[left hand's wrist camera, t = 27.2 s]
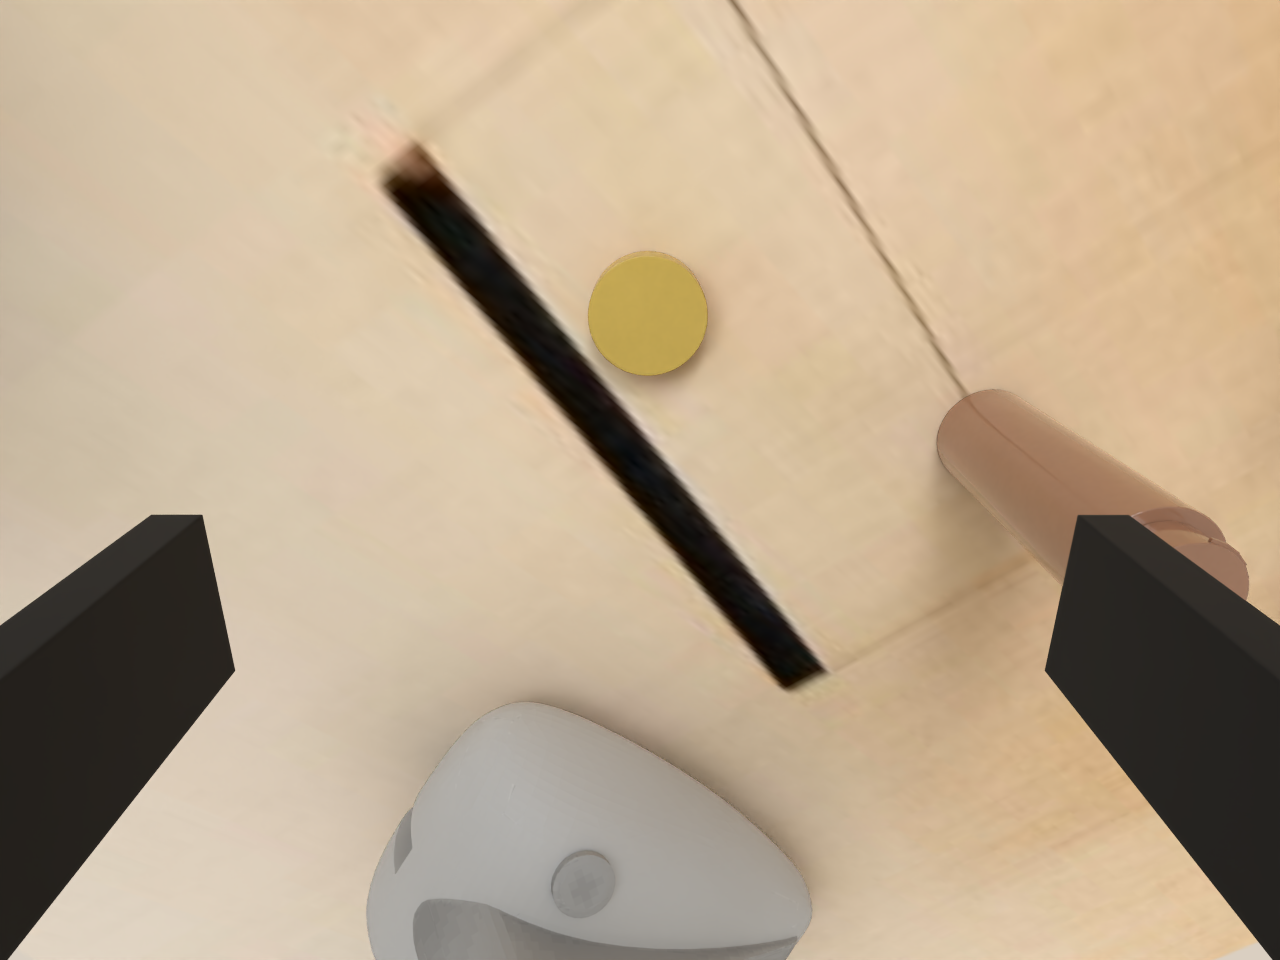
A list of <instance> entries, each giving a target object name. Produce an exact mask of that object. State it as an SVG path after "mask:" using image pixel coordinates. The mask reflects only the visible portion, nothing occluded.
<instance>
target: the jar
mask: <svg viewBox="0 0 1280 960" xmlns="http://www.w3.org/2000/svg"><path fill="white" fill-rule="evenodd" d="M937 448H938V453H939V457H940V459H941V461H942V463H943V464H944V466H945V467H946V468H947V470H948V471H949V472H950V473H951V474H952V475H953V476H954V477H955V478H956V479H957V480H958V481H959V482H960V483H961V484H962V485H963V486H964V487H965V488H966V489H967V490H968V491H969V492H970V493H971V494H972V495H973V496H974V497H975V498H976V499H977V500H978V501H979V502H980V503H981V504H982V505H983V506H984V507H985V508H986V509H987V510H988V511H989V512H990V513H991V514H992V515H993V516H994V517H995V518H996V520H997V521H998V522H999V523H1000V524H1001V525H1002V526H1003V527H1004V528H1005V529H1006V530H1007V531H1008V532H1009V533H1010V534H1011V535H1012V536H1013V537H1014V538H1015V539H1016V540H1017V541H1018V542H1019V543H1020V544H1021V545H1022V546H1023V547H1024V548H1025V549H1026V550H1027V551H1028V552H1029V553H1030V554H1031V555H1032V556H1033V557H1034V558H1035V559H1036V560H1037V561H1038V562H1039V563H1040V564H1041V565H1042V566H1043V567H1044V568H1045V569H1046V570H1047V571H1048V572H1049V573H1050V574H1051V576H1052V577H1053V578H1054V579H1055V580H1056V581H1057V582H1058V583H1059V584H1060V585H1061V586H1062V587H1063V582H1064V577H1065V573H1066V568H1067V563H1068V558H1069V554H1070V549H1071V544H1072V539H1073V535H1074V530H1075V525H1076V520H1077V516H1078V515H1130V516H1131V517H1132V518H1134V519H1135V520H1136V521H1138V522H1139V523H1141V524H1142V525H1143V526H1145V527H1146V528H1147V529H1149V530H1150V531H1151V532H1153V533H1154V534H1156V535H1157V536H1158V537H1160V538H1161V539H1162V540H1164V541H1165V542H1166V543H1168V544H1169V545H1171V546H1172V547H1173V548H1175V549H1176V550H1177V551H1179V552H1180V553H1181V554H1183V555H1184V556H1186V557H1187V558H1188V559H1190V560H1191V561H1192V562H1194V563H1195V564H1196V565H1198V566H1199V567H1201V568H1202V569H1203V570H1205V571H1206V572H1207V573H1209V574H1210V575H1211V576H1213V577H1214V578H1216V579H1217V580H1218V581H1220V582H1221V583H1222V584H1224V585H1225V586H1226V587H1228V588H1229V589H1231V590H1232V591H1233V592H1235V593H1236V594H1237V595H1239V596H1240V597H1241V598H1243V599H1244V600H1246V599H1247V596H1248V591H1249V576H1248V572H1247V569H1246V565H1247V564H1246V563H1245V561H1244V560H1243V558H1242V557H1241V555H1240V553H1239V552H1238V551H1236V550H1235V549H1234V548H1233V547H1231V546H1230V545H1229V544H1227V543H1226V540H1225V537H1224V535H1223V534H1222V532H1221V530H1220V529H1219V527H1218V526H1217V525H1216V524H1215V523H1214V522H1213V521H1212V520H1211V519H1210V518H1209V517H1207V516H1205V515H1204V514H1202V513H1201V512H1199V511H1198V510H1196V509H1195V508H1193V507H1191V506H1190V505H1188V504H1187V503H1185V502H1183V501H1182V500H1180V499H1179V498H1177V497H1176V496H1174V495H1172V494H1171V493H1169V492H1168V491H1166V490H1165V489H1163V488H1161V487H1160V486H1158V485H1157V484H1155V483H1154V482H1152V481H1150V480H1149V479H1147V478H1146V477H1144V476H1143V475H1141V474H1139V473H1138V472H1136V471H1135V470H1133V469H1132V468H1130V467H1128V466H1127V465H1125V464H1124V463H1122V462H1120V461H1119V460H1117V459H1116V458H1114V457H1113V456H1111V455H1109V454H1108V453H1106V452H1105V451H1103V450H1102V449H1100V448H1098V447H1097V446H1095V445H1094V444H1092V443H1091V442H1089V441H1087V440H1086V439H1084V438H1083V437H1081V436H1080V435H1078V434H1076V433H1075V432H1073V431H1072V430H1070V429H1068V428H1067V427H1065V426H1064V425H1062V424H1061V423H1059V422H1057V421H1056V420H1054V419H1053V418H1051V417H1050V416H1048V415H1046V414H1045V413H1043V412H1042V411H1040V410H1039V409H1037V408H1035V407H1034V406H1032V405H1031V404H1029V403H1028V402H1026V401H1024V400H1023V399H1021V398H1020V397H1018V396H1017V395H1015V394H1012V393H1010V392H1007V391H1002V390H985V391H980V392H977V393H974V394H971V395H969V396H967V397H965V398H964V399H962V400H961V401H959V402H958V403H957V404H956V405H955V406H954V407H953V408H952V409H951V410H950V411H949V412H948V413H947V415H946V416H945V418H944V420H943V421H942V424H941V426H940V429H939V432H938V438H937Z"/></svg>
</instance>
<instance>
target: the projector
mask: <svg viewBox="0 0 1280 960" xmlns="http://www.w3.org/2000/svg"><path fill="white" fill-rule="evenodd" d="M366 916H367V928H368V935H369V940H370V944H371V948H372V952H373V954H374V957H375V960H786V958H787V957H788V956H789V954H790V952H791V951H792V949H793V948H794V946H795V945H796V944H797V942H798V941H799V940H800V938H801V937H802V935H803V934H804V932H805V931H806V929H807V927H808V926H809V923H810V920H811V918H812V904H811V899H810V895H809V891H808V888H807V885H806V883H805V881H804V879H803V877H802V875H801V873H800V872H799V870H798V869H797V868H796V867H795V865H794V864H793V863H792V862H791V860H790V859H789V858H788V857H787V856H786V855H785V854H784V853H783V852H782V851H781V850H780V849H779V848H778V847H777V846H776V845H775V844H774V843H773V842H772V841H771V840H770V839H769V838H768V837H767V836H766V835H765V834H764V833H763V832H762V831H761V830H760V829H758V828H757V827H756V826H755V825H754V824H753V823H751V822H750V821H749V820H748V819H747V818H746V817H744V816H743V815H742V814H741V813H740V812H739V811H737V810H736V809H735V808H734V807H732V806H731V805H730V804H728V803H727V802H726V801H725V800H723V799H722V798H721V797H719V796H718V795H717V794H715V793H714V792H712V791H711V790H710V789H708V788H707V787H705V786H704V785H703V784H701V783H700V782H698V781H697V780H695V779H694V778H692V777H691V776H689V775H687V774H686V773H684V772H683V771H681V770H680V769H678V768H677V767H675V766H673V765H672V764H670V763H668V762H667V761H665V760H663V759H662V758H660V757H658V756H657V755H655V754H653V753H652V752H650V751H648V750H646V749H644V748H642V747H641V746H639V745H637V744H635V743H633V742H632V741H630V740H628V739H626V738H624V737H622V736H620V735H618V734H616V733H614V732H612V731H610V730H608V729H606V728H605V727H603V726H601V725H598V724H596V723H594V722H592V721H590V720H587V719H585V718H583V717H581V716H578V715H576V714H573V713H571V712H568V711H565V710H563V709H560V708H557V707H553V706H549V705H546V704H542V703H535V702H517V703H510V704H507V705H504V706H501V707H499V708H497V709H495V710H493V711H491V712H489V713H487V714H485V715H483V716H482V717H481V718H479V719H478V720H476V721H475V722H474V723H473V724H472V725H471V726H470V727H469V728H468V729H467V730H466V731H465V732H464V733H463V734H462V735H461V736H460V737H459V738H458V739H457V741H456V742H455V743H454V744H453V745H452V747H451V748H450V749H449V750H448V752H447V753H446V754H445V756H444V757H443V758H442V760H441V761H440V762H439V764H438V765H437V767H436V768H435V769H434V771H433V772H432V774H431V775H430V777H429V778H428V780H427V781H426V783H425V784H424V786H423V787H422V789H421V790H420V792H419V794H418V796H417V798H416V800H415V803H414V807H412V808H411V809H410V810H409V811H408V812H407V813H406V814H405V816H404V817H403V819H402V820H401V822H400V824H399V825H398V827H397V829H396V830H395V832H394V834H393V835H392V837H391V839H390V841H389V842H388V844H387V846H386V848H385V850H384V852H383V854H382V856H381V858H380V860H379V863H378V865H377V868H376V870H375V873H374V876H373V879H372V882H371V886H370V890H369V895H368V900H367V912H366Z"/></svg>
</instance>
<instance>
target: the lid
mask: <svg viewBox="0 0 1280 960" xmlns="http://www.w3.org/2000/svg"><path fill="white" fill-rule="evenodd" d="M707 320H708V310H707V304H706V300H705V296H704V293H703V291H702V289H701V287H700V285H699V282H698V281H697V279H696V277H695V276H694V274H693V273H692V272H691V271H690V269H689V268H687V267H686V266H685V265H684V264H683V263H682V262H680V261H679V260H677V259H675V258H674V257H672V256H669V255H667V254H664V253H659V252H653V251H642V252H636V253H632V254H629V255H626V256H624V257H622V258H620V259H618V260H617V261H615V262H614V263H612V264H611V265H610V266H609V267H608V268H607V269H606V270H605V271H604V272H603V273H602V275H601V276H600V278H599V279H598V281H597V283H596V285H595V287H594V290H593V293H592V296H591V299H590V303H589V309H588V322H589V328H590V333H591V336H592V338H593V341H594V343H595V345H596V347H597V348H598V350H599V351H600V352H601V354H602V355H603V356H604V357H605V358H606V359H607V360H608V361H609V362H610V363H612V364H613V365H615V366H616V367H618V368H619V369H621V370H623V371H626V372H629V373H632V374H636V375H644V376H651V375H659V374H664V373H667V372H670V371H672V370H674V369H676V368H678V367H679V366H681V365H683V364H684V363H685V362H686V361H687V360H689V359H690V358H691V356H692V355H693V354H694V353H695V352H696V350H697V349H698V348H699V346H700V344H701V342H702V340H703V337H704V335H705V331H706V327H707Z"/></svg>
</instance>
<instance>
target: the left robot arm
mask: <svg viewBox="0 0 1280 960" xmlns="http://www.w3.org/2000/svg"><path fill="white" fill-rule="evenodd" d="M234 671H235V667H234V663H233V658H232V653H231V649H230V644H229V639H228V634H227V630H226V625H225V620H224V615H223V611H222V606H221V601H220V596H219V592H218V587H217V582H216V577H215V573H214V568H213V563H212V558H211V554H210V549H209V544H208V539H207V535H206V530H205V525H204V520H203V516H202V515H150V516H149V517H148V518H146V519H145V520H144V521H142V522H141V523H139V524H138V525H137V526H135V527H134V528H133V529H131V530H130V531H129V532H127V533H126V534H124V535H123V536H122V537H120V538H119V539H118V540H116V541H115V542H114V543H112V544H111V545H109V546H108V547H107V548H105V549H104V550H103V551H101V552H100V553H99V554H97V555H96V556H94V557H93V558H92V559H90V560H89V561H88V562H86V563H85V564H84V565H82V566H81V567H79V568H78V569H77V570H75V571H74V572H73V573H71V574H70V575H69V576H67V577H66V578H64V579H63V580H62V581H60V582H59V583H58V584H56V585H55V586H54V587H52V588H51V589H49V590H48V591H47V592H45V593H44V594H43V595H41V596H40V597H39V598H37V599H36V600H34V601H33V602H32V603H30V604H29V605H28V606H26V607H25V608H24V609H22V610H21V611H19V612H18V613H17V614H15V615H14V616H13V617H11V618H10V619H9V620H7V621H6V622H4V623H3V624H2V625H0V960H8V958H9V957H10V956H11V955H12V953H13V952H14V951H15V950H16V948H17V947H18V946H19V944H20V943H21V942H22V941H23V939H24V938H25V937H26V936H27V934H28V933H29V932H30V931H31V929H32V928H33V927H34V925H35V924H36V923H37V922H38V920H39V919H40V918H41V917H42V915H43V914H44V913H45V911H46V910H47V909H48V908H49V906H50V905H51V904H52V903H53V901H54V900H55V899H56V897H57V896H58V895H59V894H60V892H61V891H62V890H63V889H64V887H65V886H66V885H67V884H68V882H69V881H70V880H71V878H72V877H73V876H74V875H75V873H76V872H77V871H78V870H79V868H80V867H81V866H82V864H83V863H84V862H85V861H86V859H87V858H88V857H89V856H90V854H91V853H92V852H93V851H94V849H95V848H96V847H97V845H98V844H99V843H100V842H101V840H102V839H103V838H104V837H105V835H106V834H107V833H108V831H109V830H110V829H111V828H112V826H113V825H114V824H115V823H116V821H117V820H118V819H119V817H120V816H121V815H122V814H123V812H124V811H125V810H126V809H127V807H128V806H129V805H130V804H131V802H132V801H133V800H134V798H135V797H136V796H137V795H138V793H139V792H140V791H141V790H142V788H143V787H144V786H145V784H146V783H147V782H148V781H149V779H150V778H151V777H152V776H153V774H154V773H155V772H156V771H157V769H158V768H159V767H160V765H161V764H162V763H163V762H164V760H165V759H166V758H167V757H168V755H169V754H170V753H171V751H172V750H173V749H174V748H175V746H176V745H177V744H178V743H179V741H180V740H181V739H182V737H183V736H184V735H185V734H186V732H187V731H188V730H189V729H190V727H191V726H192V725H193V724H194V722H195V721H196V720H197V718H198V717H199V716H200V715H201V713H202V712H203V711H204V710H205V708H206V707H207V706H208V704H209V703H210V702H211V701H212V699H213V698H214V697H215V696H216V694H217V693H218V692H219V691H220V689H221V688H222V687H223V685H224V684H225V683H226V682H227V680H228V679H229V678H230V677H231V675H232V674H233V673H234ZM1045 671H1046V673H1047V674H1048V675H1049V677H1050V678H1051V679H1052V680H1053V682H1054V683H1055V684H1056V685H1057V687H1058V688H1059V689H1060V691H1061V692H1062V693H1063V694H1064V696H1065V697H1066V698H1067V699H1068V701H1069V702H1070V703H1071V704H1072V706H1073V707H1074V708H1075V710H1076V711H1077V712H1078V713H1079V715H1080V716H1081V717H1082V718H1083V720H1084V721H1085V722H1086V724H1087V725H1088V726H1089V727H1090V729H1091V730H1092V731H1093V732H1094V734H1095V735H1096V736H1097V737H1098V739H1099V740H1100V741H1101V743H1102V744H1103V745H1104V746H1105V748H1106V749H1107V750H1108V751H1109V753H1110V754H1111V755H1112V757H1113V758H1114V759H1115V760H1116V762H1117V763H1118V764H1119V765H1120V767H1121V768H1122V769H1123V771H1124V772H1125V773H1126V774H1127V776H1128V777H1129V778H1130V779H1131V781H1132V782H1133V783H1134V784H1135V786H1136V787H1137V788H1138V790H1139V791H1140V792H1141V793H1142V795H1143V796H1144V797H1145V798H1146V800H1147V801H1148V802H1149V804H1150V805H1151V806H1152V807H1153V809H1154V810H1155V811H1156V812H1157V814H1158V815H1159V816H1160V817H1161V819H1162V820H1163V821H1164V823H1165V824H1166V825H1167V826H1168V828H1169V829H1170V830H1171V831H1172V833H1173V834H1174V835H1175V837H1176V838H1177V839H1178V840H1179V842H1180V843H1181V844H1182V845H1183V847H1184V848H1185V849H1186V851H1187V852H1188V853H1189V854H1190V856H1191V857H1192V858H1193V859H1194V861H1195V862H1196V863H1197V864H1198V866H1199V867H1200V868H1201V870H1202V871H1203V872H1204V873H1205V875H1206V876H1207V877H1208V878H1209V880H1210V881H1211V882H1212V884H1213V885H1214V886H1215V887H1216V889H1217V890H1218V891H1219V892H1220V894H1221V895H1222V896H1223V897H1224V899H1225V900H1226V901H1227V903H1228V904H1229V905H1230V906H1231V908H1232V909H1233V910H1234V911H1235V913H1236V914H1237V915H1238V917H1239V918H1240V919H1241V920H1242V922H1243V923H1244V924H1245V925H1246V927H1247V928H1248V929H1249V931H1250V932H1251V933H1252V934H1253V936H1254V937H1255V938H1256V939H1257V941H1258V942H1259V943H1260V944H1261V946H1262V947H1263V948H1264V950H1265V951H1266V952H1267V953H1268V955H1269V956H1270V957H1271V958H1272V960H1280V625H1278V624H1277V623H1276V622H1274V621H1273V620H1271V619H1270V618H1269V617H1267V616H1266V615H1265V614H1263V613H1262V612H1261V611H1259V610H1258V609H1256V608H1255V607H1254V606H1252V605H1251V604H1250V603H1248V602H1247V601H1246V600H1244V599H1243V598H1241V597H1240V596H1239V595H1237V594H1236V593H1235V592H1233V591H1232V590H1231V589H1229V588H1228V587H1226V586H1225V585H1224V584H1222V583H1221V582H1220V581H1218V580H1217V579H1216V578H1214V577H1213V576H1211V575H1210V574H1209V573H1207V572H1206V571H1205V570H1203V569H1202V568H1201V567H1199V566H1198V565H1196V564H1195V563H1194V562H1192V561H1191V560H1190V559H1188V558H1187V557H1186V556H1184V555H1183V554H1181V553H1180V552H1179V551H1177V550H1176V549H1175V548H1173V547H1172V546H1171V545H1169V544H1168V543H1166V542H1165V541H1164V540H1162V539H1161V538H1160V537H1158V536H1157V535H1156V534H1154V533H1153V532H1151V531H1150V530H1149V529H1147V528H1146V527H1145V526H1143V525H1142V524H1141V523H1139V522H1138V521H1136V520H1135V519H1134V518H1132V517H1131V516H1130V515H1078V516H1077V520H1076V525H1075V530H1074V535H1073V539H1072V544H1071V549H1070V554H1069V558H1068V563H1067V568H1066V573H1065V577H1064V582H1063V587H1062V592H1061V596H1060V601H1059V606H1058V611H1057V615H1056V620H1055V625H1054V630H1053V634H1052V639H1051V644H1050V649H1049V653H1048V658H1047V663H1046V667H1045Z"/></svg>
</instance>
